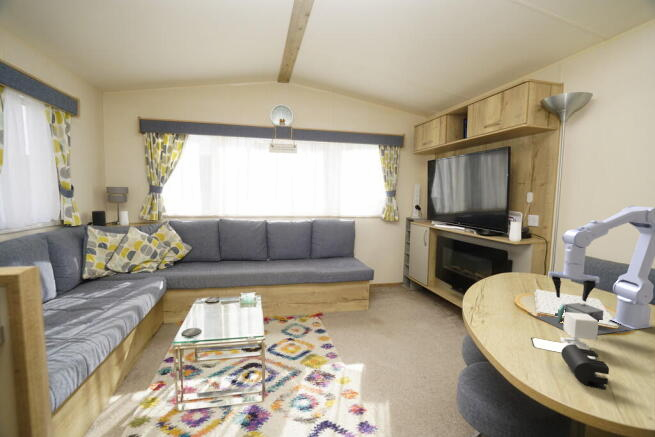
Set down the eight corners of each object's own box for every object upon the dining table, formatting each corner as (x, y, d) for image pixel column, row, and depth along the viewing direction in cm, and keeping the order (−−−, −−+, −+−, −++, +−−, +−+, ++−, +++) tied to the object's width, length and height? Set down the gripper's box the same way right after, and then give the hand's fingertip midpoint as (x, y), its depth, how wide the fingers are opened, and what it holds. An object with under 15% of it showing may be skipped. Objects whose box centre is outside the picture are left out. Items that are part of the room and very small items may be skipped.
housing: (580, 314, 122) (581, 301, 121) (605, 325, 113) (607, 310, 112) (563, 316, 120) (565, 302, 119) (588, 327, 111) (590, 312, 111)
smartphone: (533, 349, 98) (598, 362, 90) (533, 347, 98) (598, 360, 90) (530, 338, 105) (590, 349, 97) (530, 336, 104) (590, 347, 97)
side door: (564, 316, 120) (565, 304, 120) (559, 322, 114) (560, 310, 114) (558, 314, 121) (559, 303, 121) (553, 321, 116) (554, 309, 115)
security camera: (595, 352, 95) (598, 321, 94) (569, 349, 96) (572, 319, 95) (583, 342, 101) (586, 313, 100) (559, 339, 103) (561, 311, 101)
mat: (574, 308, 129) (574, 307, 129) (631, 330, 110) (631, 329, 109) (527, 313, 123) (527, 312, 123) (578, 337, 104) (578, 336, 104)
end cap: (559, 364, 89) (562, 342, 88) (590, 369, 86) (592, 346, 85) (573, 385, 79) (575, 360, 79) (607, 391, 77) (610, 366, 76)
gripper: (596, 262, 112) (593, 298, 113) (548, 258, 119) (545, 291, 120) (602, 267, 105) (598, 305, 107) (551, 262, 112) (548, 297, 114)
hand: (570, 298), depth 113 cm, fingers open, 7 cm apart
